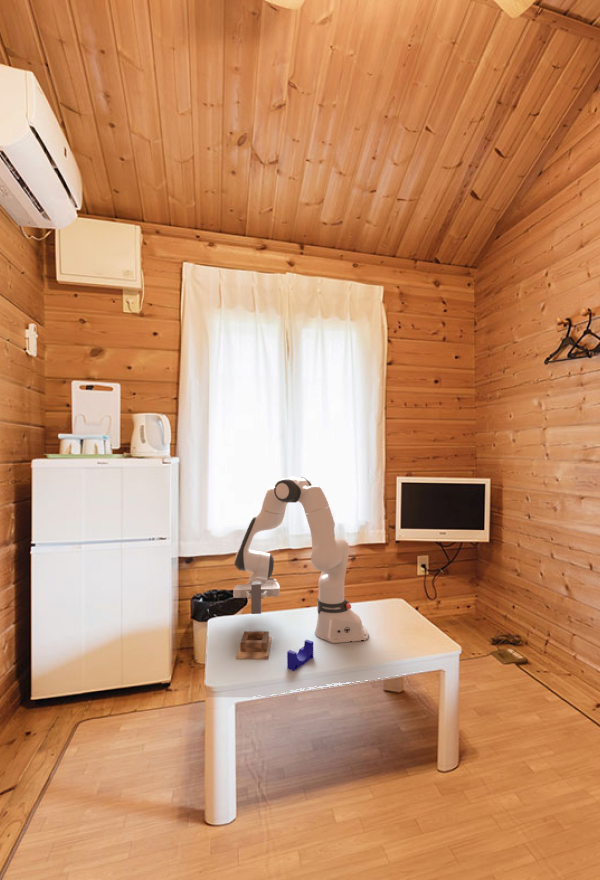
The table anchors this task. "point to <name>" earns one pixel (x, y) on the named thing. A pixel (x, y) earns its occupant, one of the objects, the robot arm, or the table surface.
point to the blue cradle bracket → (300, 656)
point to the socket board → (254, 654)
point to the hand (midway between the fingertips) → (256, 596)
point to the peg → (256, 597)
